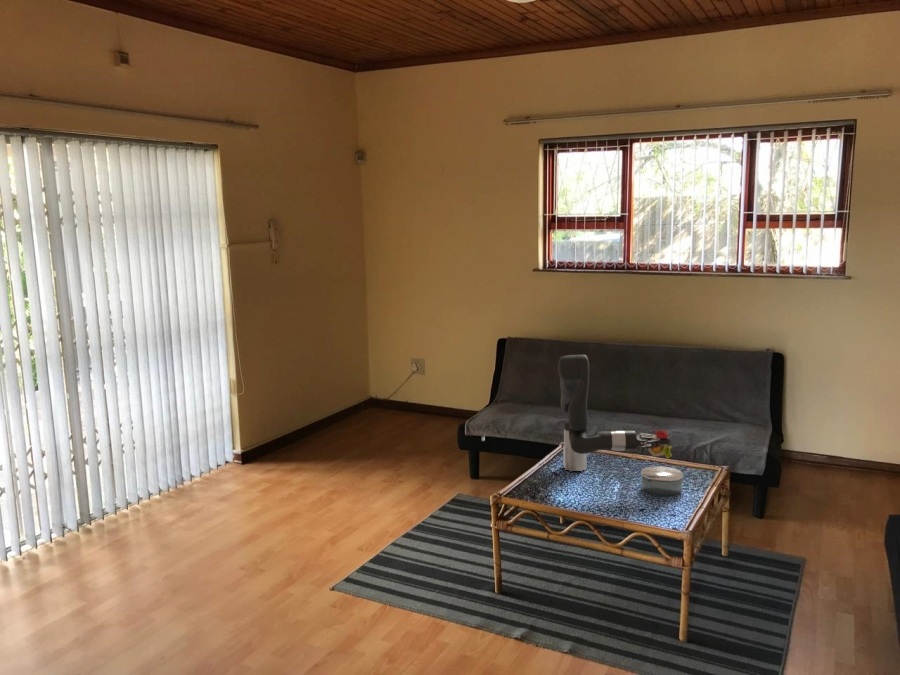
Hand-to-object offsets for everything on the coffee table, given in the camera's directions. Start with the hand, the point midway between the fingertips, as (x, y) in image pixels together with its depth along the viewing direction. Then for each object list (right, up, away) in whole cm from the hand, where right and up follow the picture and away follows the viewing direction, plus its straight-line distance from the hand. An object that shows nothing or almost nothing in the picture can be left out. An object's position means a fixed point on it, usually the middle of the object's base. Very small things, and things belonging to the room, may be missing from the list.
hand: (668, 440), depth 273 cm
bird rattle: (-3, -7, +1) cm, 7 cm away
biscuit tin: (-2, -20, +3) cm, 20 cm away
